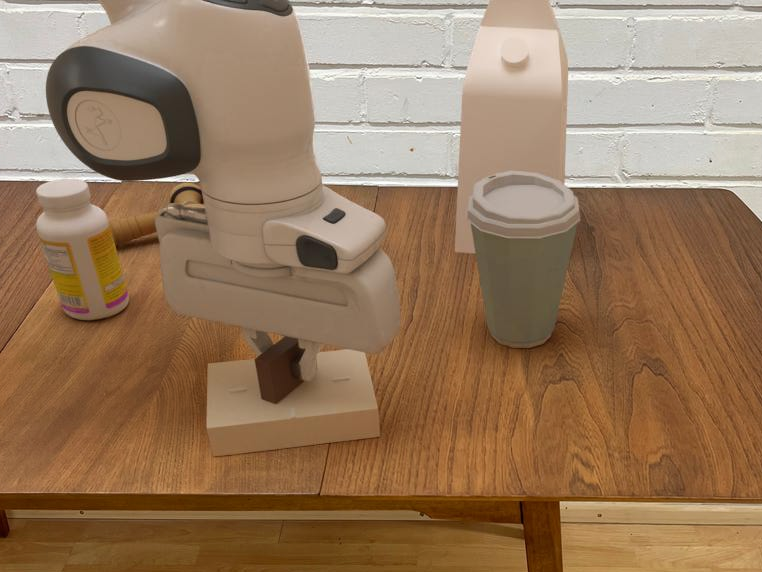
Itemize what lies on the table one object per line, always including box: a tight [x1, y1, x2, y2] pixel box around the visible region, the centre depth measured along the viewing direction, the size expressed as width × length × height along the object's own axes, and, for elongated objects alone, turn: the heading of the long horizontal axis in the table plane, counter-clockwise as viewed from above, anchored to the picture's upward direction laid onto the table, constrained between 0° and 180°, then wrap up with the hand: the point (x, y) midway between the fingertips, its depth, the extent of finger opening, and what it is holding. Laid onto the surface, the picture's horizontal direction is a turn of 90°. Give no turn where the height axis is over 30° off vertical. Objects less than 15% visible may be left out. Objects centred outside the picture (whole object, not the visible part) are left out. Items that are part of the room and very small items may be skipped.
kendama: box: [109, 182, 205, 247], centre depth 105 cm, size 8×6×18 cm
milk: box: [454, 0, 569, 254], centre depth 100 cm, size 12×12×26 cm
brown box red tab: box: [254, 336, 317, 404], centre depth 76 cm, size 6×2×4 cm, turn 153°
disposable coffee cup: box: [466, 171, 581, 349], centre depth 85 cm, size 11×11×15 cm
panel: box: [205, 348, 381, 458], centre depth 78 cm, size 14×10×3 cm
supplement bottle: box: [35, 178, 130, 321], centre depth 89 cm, size 7×7×13 cm
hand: (289, 373), depth 77 cm, fingers closed on brown box red tab, 2 cm apart
